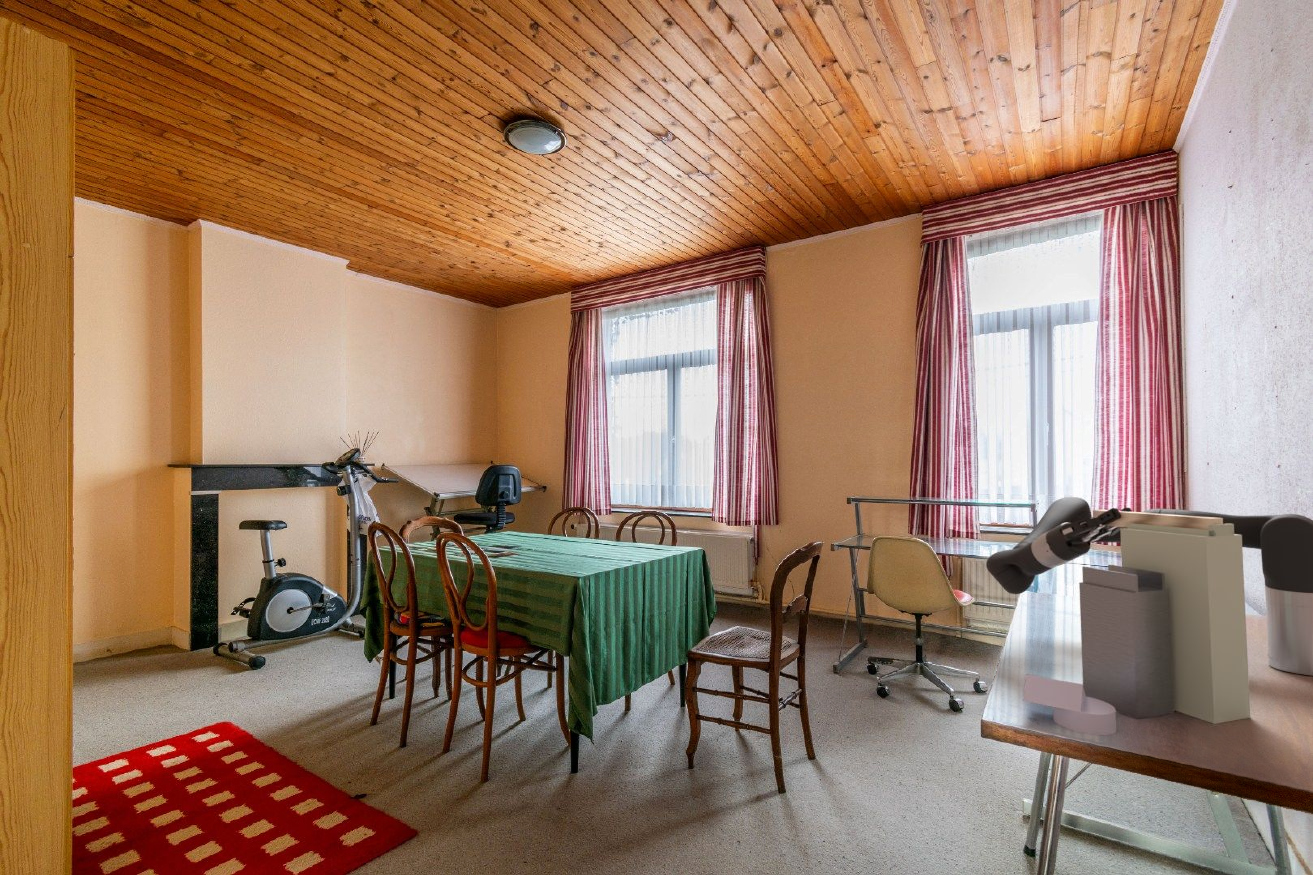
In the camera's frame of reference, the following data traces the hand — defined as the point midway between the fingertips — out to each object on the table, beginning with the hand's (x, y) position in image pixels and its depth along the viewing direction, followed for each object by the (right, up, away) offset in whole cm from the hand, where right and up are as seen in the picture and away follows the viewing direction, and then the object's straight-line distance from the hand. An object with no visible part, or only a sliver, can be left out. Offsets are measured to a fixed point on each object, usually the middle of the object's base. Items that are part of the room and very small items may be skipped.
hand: (1124, 512), depth 127 cm
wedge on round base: (-23, -35, -18) cm, 45 cm away
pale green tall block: (+3, -34, -11) cm, 36 cm away
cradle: (-8, -35, -11) cm, 37 cm away
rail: (+2, -3, -5) cm, 6 cm away
